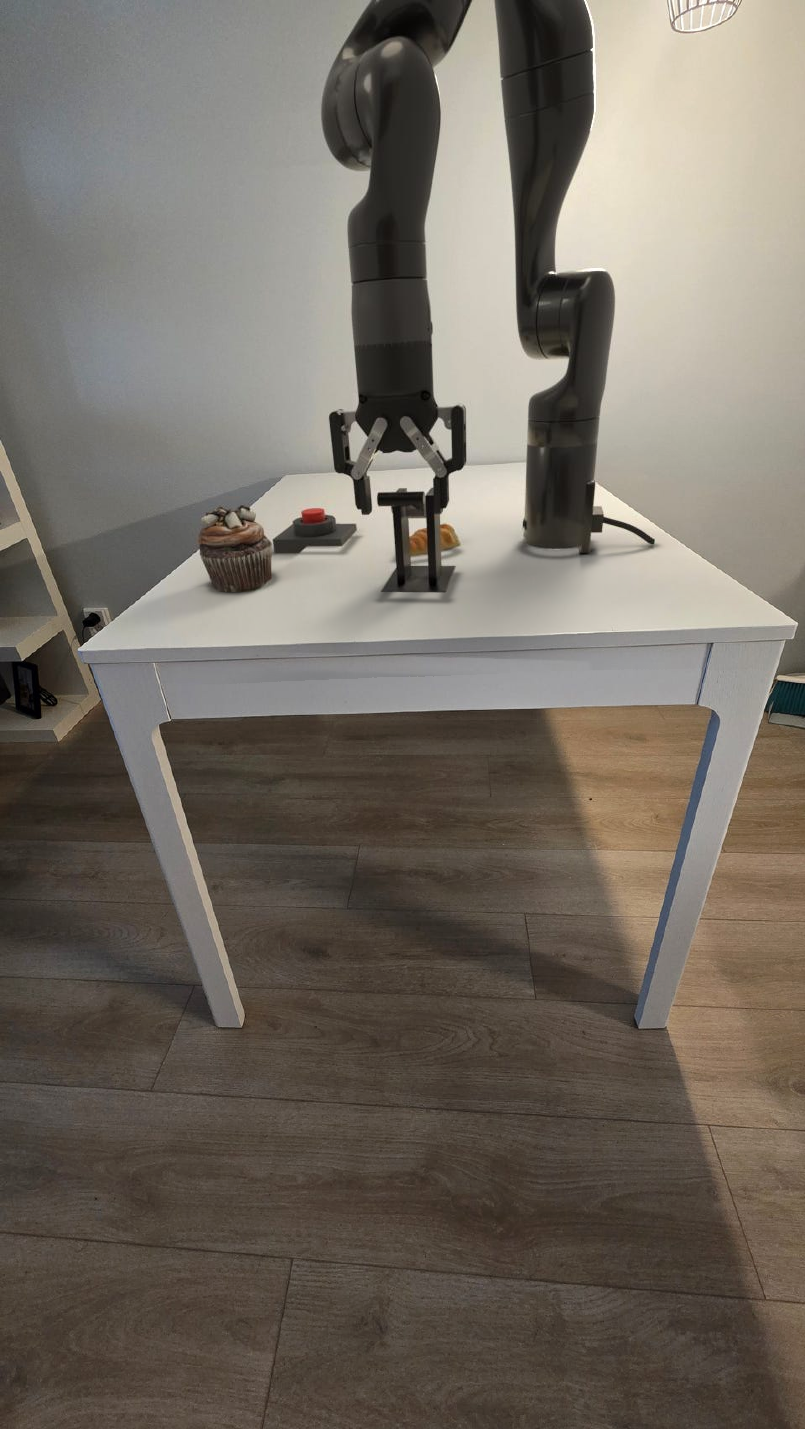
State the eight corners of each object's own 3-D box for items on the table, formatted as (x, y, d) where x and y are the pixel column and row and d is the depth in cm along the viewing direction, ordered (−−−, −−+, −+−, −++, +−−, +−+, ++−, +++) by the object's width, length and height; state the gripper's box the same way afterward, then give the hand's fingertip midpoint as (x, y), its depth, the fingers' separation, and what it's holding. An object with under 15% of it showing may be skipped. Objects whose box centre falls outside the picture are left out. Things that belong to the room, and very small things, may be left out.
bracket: (445, 601, 77) (443, 500, 71) (381, 600, 79) (373, 501, 73) (456, 574, 86) (454, 482, 80) (397, 574, 87) (391, 483, 81)
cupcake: (197, 596, 84) (179, 519, 79) (219, 572, 93) (204, 501, 88) (268, 593, 84) (255, 515, 79) (284, 570, 92) (273, 498, 87)
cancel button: (328, 519, 101) (327, 507, 101) (321, 525, 98) (320, 513, 98) (306, 519, 102) (305, 508, 101) (299, 525, 99) (297, 513, 98)
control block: (357, 537, 105) (355, 512, 103) (342, 553, 97) (339, 526, 95) (294, 537, 107) (290, 513, 105) (274, 553, 99) (270, 527, 97)
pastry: (415, 567, 89) (413, 539, 87) (386, 558, 94) (383, 532, 92) (464, 552, 94) (463, 525, 92) (434, 544, 99) (433, 519, 97)
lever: (422, 509, 68) (423, 485, 67) (376, 510, 69) (376, 486, 68) (438, 518, 78) (439, 497, 78) (398, 518, 79) (398, 498, 79)
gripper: (309, 344, 60) (330, 522, 68) (462, 334, 57) (464, 521, 65) (332, 343, 66) (348, 506, 74) (471, 333, 63) (472, 504, 72)
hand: (402, 512), depth 70 cm, fingers open, 7 cm apart
